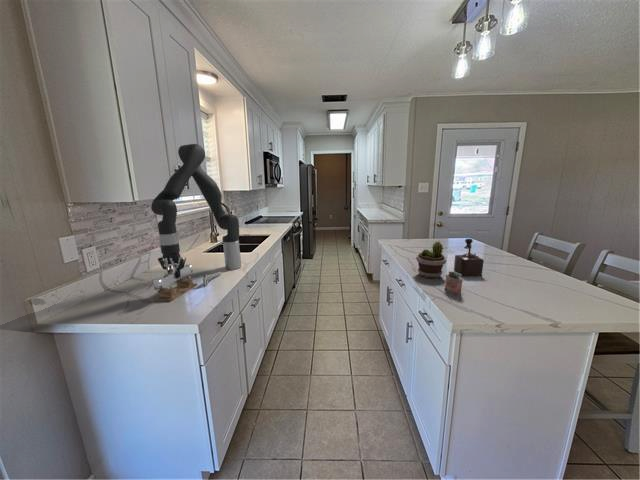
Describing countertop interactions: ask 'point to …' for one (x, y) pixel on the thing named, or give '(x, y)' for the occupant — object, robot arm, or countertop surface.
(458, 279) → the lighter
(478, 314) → the countertop surface
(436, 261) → the flowerpot
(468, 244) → the brown box with post
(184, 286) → the tool rest
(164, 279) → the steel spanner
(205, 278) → the caliper
